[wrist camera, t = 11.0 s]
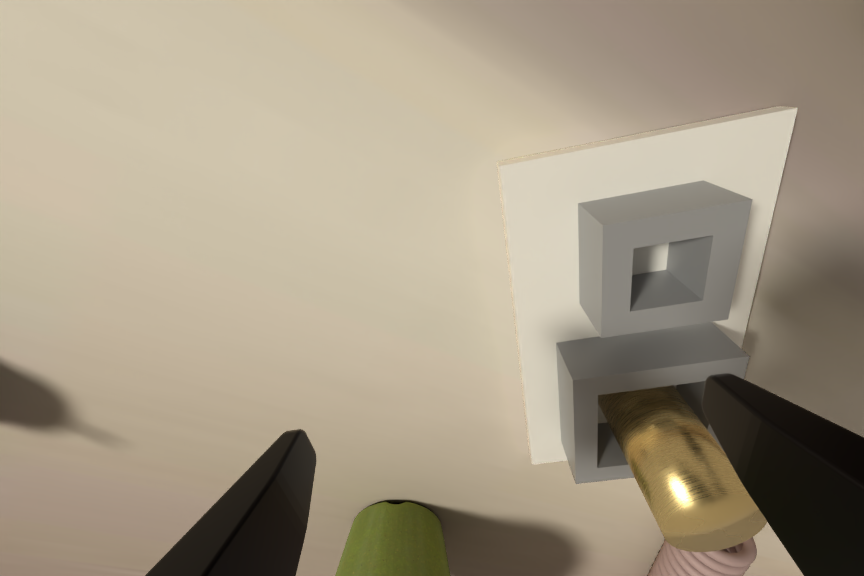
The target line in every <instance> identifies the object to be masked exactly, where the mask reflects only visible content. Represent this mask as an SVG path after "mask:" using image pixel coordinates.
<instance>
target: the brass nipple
mask: <svg viewBox="0 0 864 576" xmlns="http://www.w3.org/2000/svg"><path fill="white" fill-rule="evenodd" d="M598 404H599V406H600V408H601V410H602V412H603V414H604V416H605V418H606V420H607V422H608V424H609V426H610V428H611V430H612V432H613V434H614V436H615V438H616V440H617V442H618V444H619V447H620V449H621V451H622V453H623V455H624V457H625V459H626V461H627V463H628V465H629V467H630V469H631V471H632V473H633V475H634V477H635V479H636V481H637V483H638V485H639V487H640V489H641V491H642V493H643V495H644V497H645V499H646V501H647V503H648V505H649V507H650V509H651V511H652V513H653V515H654V517H655V519H656V521H657V523H658V525H659V527H660V529H661V531H662V533H663V536H664V538H665V540H666V541H667V542H668V543H669V544H670V545H671V546H673V547H675V548H677V549H680V550H684V551H689V552H711V551H717V550H722V549H726V548H730V547H733V546H735V545H738V544H740V543H743V542H745V541H747V540H748V539H750V538H752V537H753V536H755V535H756V534H757V533H758V532H760V530H761V529H762V528H763V527H764V526H765V524H766V523H767V520H766V519H765V517H764V516H763V514H762V513H761V511H760V510H759V508H758V507H757V506H756V504H755V503H754V501H753V500H752V498H751V497H750V495H749V494H748V492H747V491H746V489H745V487H744V486H743V484H742V483H741V481H740V479H739V477H738V476H737V474H736V472H735V470H734V469H733V467H732V465H731V463H730V461H729V459H728V458H727V456H726V454H725V452H724V451H723V449H722V448H721V447H720V446H719V444H718V443H717V442H716V440H715V439H714V438H713V436H712V435H711V434H710V432H709V431H708V430H707V429H706V427H705V426H704V425H703V423H702V422H701V421H700V419H699V418H698V417H697V416H696V414H695V413H694V412H693V410H692V409H691V408H690V406H689V405H688V404H687V403H686V401H685V400H684V399H683V397H682V396H681V395H680V393H679V392H678V391H677V389H676V388H675V387H674V386H673V385H672V386H664V387H656V388H649V389H641V390H634V391H626V392H618V393H611V394H603V395H598Z"/></svg>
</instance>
